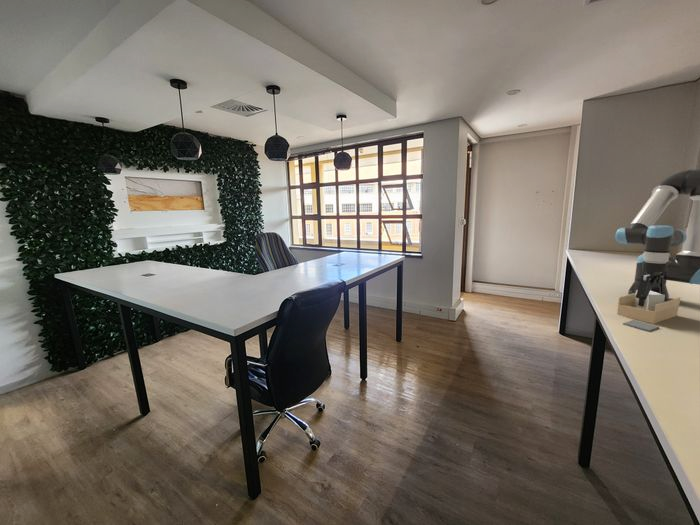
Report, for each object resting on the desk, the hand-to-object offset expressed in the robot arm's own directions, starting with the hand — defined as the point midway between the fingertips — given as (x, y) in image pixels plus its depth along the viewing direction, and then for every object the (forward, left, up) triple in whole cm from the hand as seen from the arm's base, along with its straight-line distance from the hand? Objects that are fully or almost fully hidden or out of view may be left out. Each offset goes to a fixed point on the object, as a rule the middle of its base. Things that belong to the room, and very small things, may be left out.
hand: (647, 311), depth 128 cm
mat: (+18, +5, -2) cm, 19 cm away
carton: (0, 0, -2) cm, 2 cm away
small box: (0, 0, -2) cm, 2 cm away
